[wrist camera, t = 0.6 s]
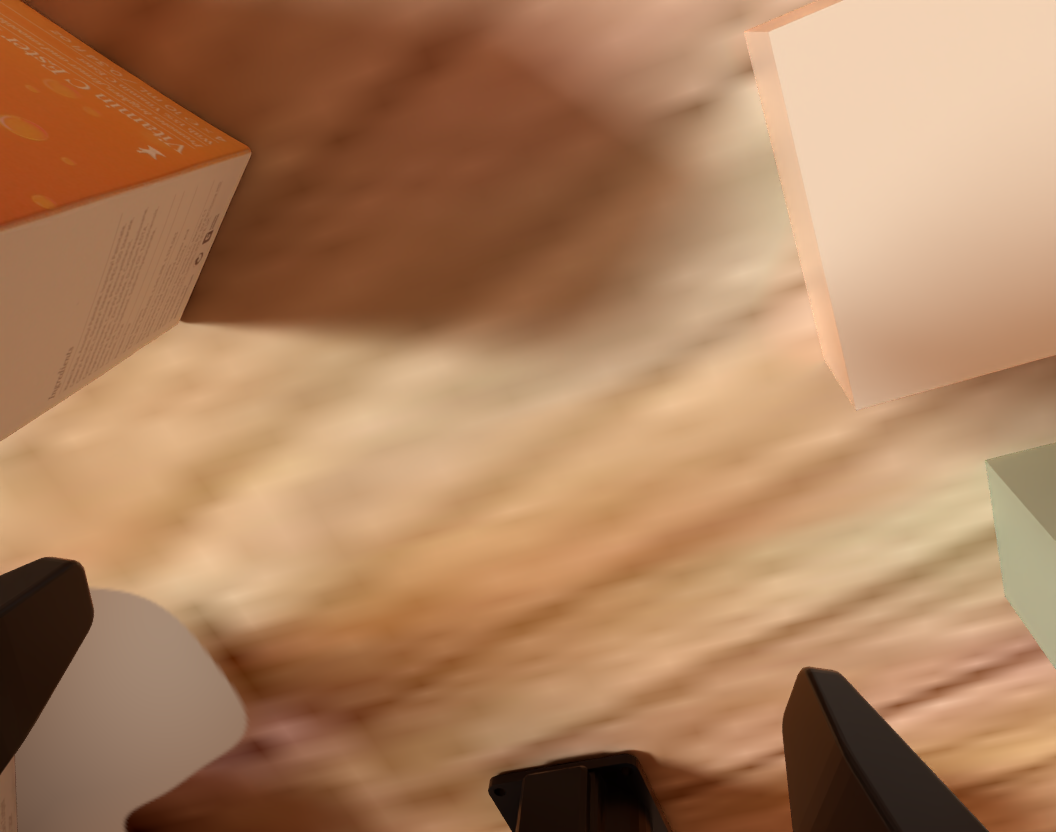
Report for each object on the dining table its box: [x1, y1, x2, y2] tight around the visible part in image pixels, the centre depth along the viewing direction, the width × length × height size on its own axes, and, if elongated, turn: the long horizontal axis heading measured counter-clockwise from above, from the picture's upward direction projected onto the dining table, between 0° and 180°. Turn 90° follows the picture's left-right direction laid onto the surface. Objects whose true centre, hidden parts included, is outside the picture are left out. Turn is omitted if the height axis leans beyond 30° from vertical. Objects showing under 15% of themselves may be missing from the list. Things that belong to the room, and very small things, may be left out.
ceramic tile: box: [744, 0, 1056, 411], centre depth 17 cm, size 9×9×4 cm
